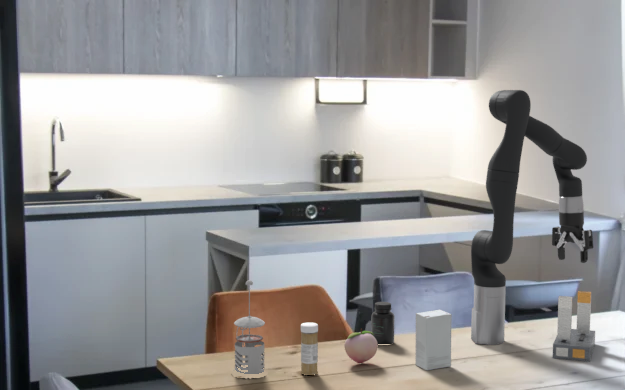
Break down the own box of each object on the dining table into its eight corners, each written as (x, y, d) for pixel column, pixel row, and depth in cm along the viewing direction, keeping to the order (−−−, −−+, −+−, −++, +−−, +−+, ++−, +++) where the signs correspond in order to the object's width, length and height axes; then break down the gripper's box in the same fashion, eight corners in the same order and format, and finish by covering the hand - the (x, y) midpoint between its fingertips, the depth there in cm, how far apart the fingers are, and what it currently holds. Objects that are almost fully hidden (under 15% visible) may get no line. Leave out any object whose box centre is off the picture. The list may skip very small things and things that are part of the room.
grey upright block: (570, 339, 261) (571, 298, 260) (557, 338, 263) (558, 297, 261) (570, 338, 263) (572, 296, 262) (558, 337, 264) (559, 295, 263)
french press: (239, 381, 237) (239, 285, 234) (222, 369, 247) (222, 277, 245) (274, 376, 241) (274, 281, 239) (256, 365, 252) (256, 274, 249)
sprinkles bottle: (310, 370, 247) (310, 321, 245) (321, 374, 243) (321, 324, 242) (297, 373, 244) (297, 323, 242) (307, 377, 240) (308, 326, 239)
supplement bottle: (382, 338, 280) (382, 299, 279) (398, 343, 275) (399, 303, 274) (366, 342, 275) (366, 303, 274) (383, 347, 270) (383, 307, 269)
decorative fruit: (362, 371, 246) (362, 334, 245) (339, 365, 252) (339, 329, 251) (384, 363, 253) (384, 328, 252) (361, 358, 259) (361, 323, 258)
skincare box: (439, 361, 255) (440, 308, 254) (452, 367, 250) (453, 313, 249) (413, 365, 252) (414, 311, 250) (425, 371, 246) (426, 316, 245)
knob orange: (589, 334, 268) (590, 293, 267) (576, 332, 269) (577, 292, 268) (589, 332, 270) (591, 291, 269) (577, 331, 271) (578, 291, 270)
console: (589, 361, 256) (590, 346, 255) (552, 358, 259) (552, 343, 259) (594, 344, 275) (595, 329, 274) (560, 340, 278) (560, 326, 278)
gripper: (545, 210, 295) (547, 260, 297) (582, 213, 284) (583, 265, 285) (561, 207, 299) (562, 257, 301) (597, 210, 288) (599, 261, 290)
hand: (572, 261), depth 293 cm, fingers open, 8 cm apart
